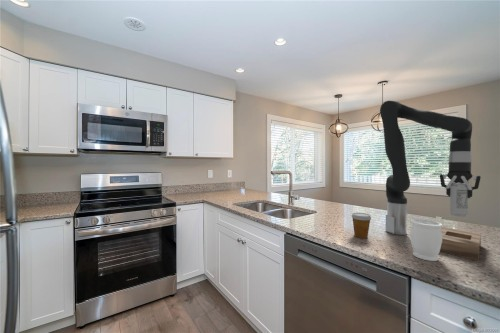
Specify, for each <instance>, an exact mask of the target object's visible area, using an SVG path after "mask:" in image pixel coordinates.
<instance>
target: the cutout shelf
mask: <svg viewBox="0 0 500 333" xmlns="http://www.w3.org/2000/svg"><path fill="white" fill-rule="evenodd" d="M441 232H442V244H441V248H440V252H439V253H445V254H449V255H454V256H458V257H462V258H467V259H469V260H473V261H480V249H481V246H482V244H481V243H482V241H481V239H482V238H481V237H482V234H481V233H479V232H475V231H474V232H473V231H467V230H462V229H455V228H451V227H444V226H442V227H441Z"/></svg>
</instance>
